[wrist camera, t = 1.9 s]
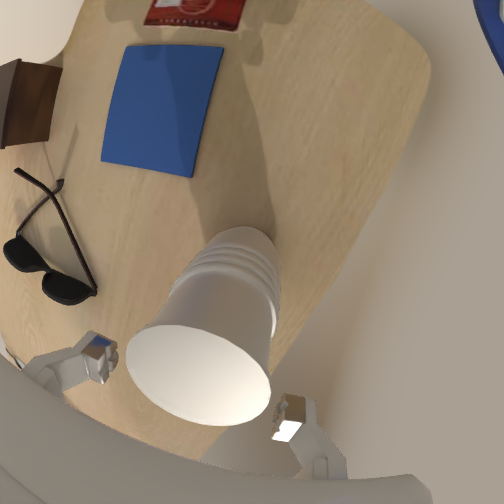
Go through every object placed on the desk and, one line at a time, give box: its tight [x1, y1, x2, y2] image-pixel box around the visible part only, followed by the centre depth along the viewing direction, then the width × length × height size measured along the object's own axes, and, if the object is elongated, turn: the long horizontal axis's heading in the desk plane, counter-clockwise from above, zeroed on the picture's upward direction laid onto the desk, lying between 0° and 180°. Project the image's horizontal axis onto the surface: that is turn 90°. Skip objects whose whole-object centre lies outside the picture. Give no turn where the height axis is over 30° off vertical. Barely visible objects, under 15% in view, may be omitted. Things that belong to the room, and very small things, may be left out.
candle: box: [126, 226, 281, 426], centre depth 18 cm, size 7×7×15 cm
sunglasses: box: [3, 168, 98, 305], centre depth 24 cm, size 17×14×5 cm
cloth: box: [101, 45, 224, 178], centre depth 20 cm, size 12×10×1 cm
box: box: [0, 59, 63, 149], centre depth 18 cm, size 9×9×8 cm
